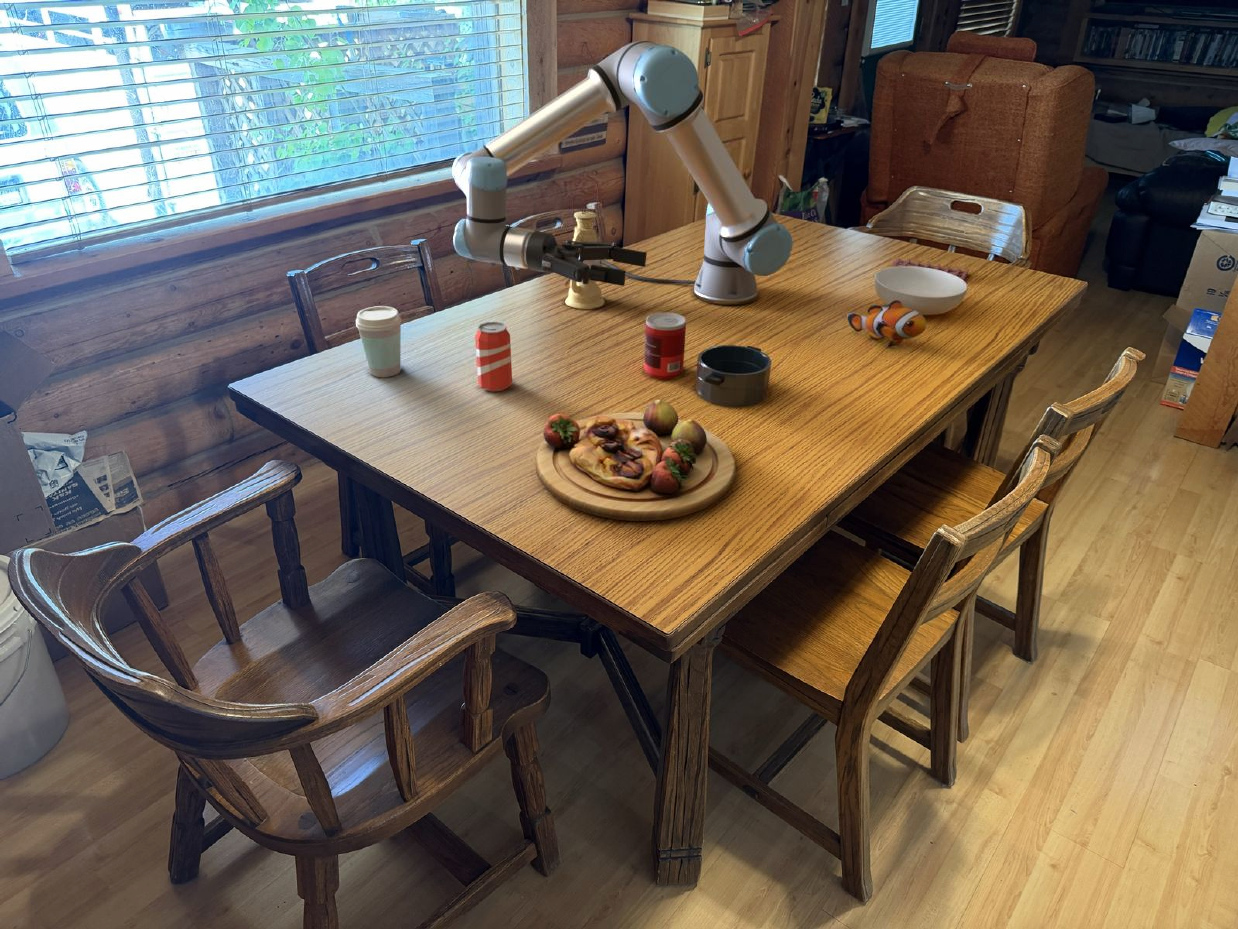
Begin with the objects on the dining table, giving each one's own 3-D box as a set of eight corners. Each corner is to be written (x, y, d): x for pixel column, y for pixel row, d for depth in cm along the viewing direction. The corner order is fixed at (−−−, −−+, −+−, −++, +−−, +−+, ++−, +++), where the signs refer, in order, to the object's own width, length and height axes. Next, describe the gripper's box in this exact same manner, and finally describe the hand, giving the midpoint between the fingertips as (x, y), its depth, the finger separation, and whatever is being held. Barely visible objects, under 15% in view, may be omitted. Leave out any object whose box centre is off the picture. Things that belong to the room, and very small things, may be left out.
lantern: (579, 290, 213) (578, 163, 197) (614, 298, 209) (616, 168, 193) (552, 305, 203) (549, 173, 188) (589, 314, 200) (589, 178, 184)
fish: (911, 358, 179) (915, 310, 175) (833, 342, 191) (835, 297, 187) (934, 345, 185) (939, 299, 181) (858, 331, 197) (860, 287, 193)
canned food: (687, 366, 176) (690, 315, 170) (676, 382, 169) (679, 329, 163) (651, 361, 178) (653, 309, 172) (638, 376, 171) (640, 323, 165)
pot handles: (704, 382, 158) (705, 377, 158) (747, 349, 171) (748, 345, 171) (718, 386, 157) (719, 381, 156) (760, 353, 170) (761, 348, 169)
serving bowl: (863, 316, 201) (868, 287, 198) (876, 288, 218) (881, 261, 215) (958, 330, 195) (965, 301, 191) (964, 300, 212) (970, 273, 208)
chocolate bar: (894, 263, 236) (895, 256, 235) (967, 275, 228) (969, 268, 227) (887, 270, 230) (889, 263, 229) (962, 283, 223) (963, 276, 222)
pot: (683, 394, 165) (685, 363, 161) (716, 369, 175) (718, 339, 171) (748, 413, 158) (752, 381, 155) (779, 386, 168) (783, 355, 165)
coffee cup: (416, 367, 173) (410, 309, 167) (389, 383, 166) (381, 324, 160) (381, 358, 176) (373, 302, 170) (353, 375, 169) (344, 316, 163)
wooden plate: (494, 484, 136) (491, 438, 132) (604, 406, 160) (604, 365, 156) (675, 551, 122) (678, 501, 118) (766, 455, 146) (771, 410, 141)
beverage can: (490, 376, 170) (487, 318, 164) (518, 383, 167) (515, 324, 161) (472, 388, 165) (467, 329, 159) (500, 396, 163) (497, 335, 157)
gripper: (554, 253, 183) (651, 270, 178) (504, 286, 162) (613, 306, 157) (556, 217, 179) (655, 233, 174) (505, 246, 158) (616, 265, 153)
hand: (635, 268), depth 166 cm, fingers open, 13 cm apart
